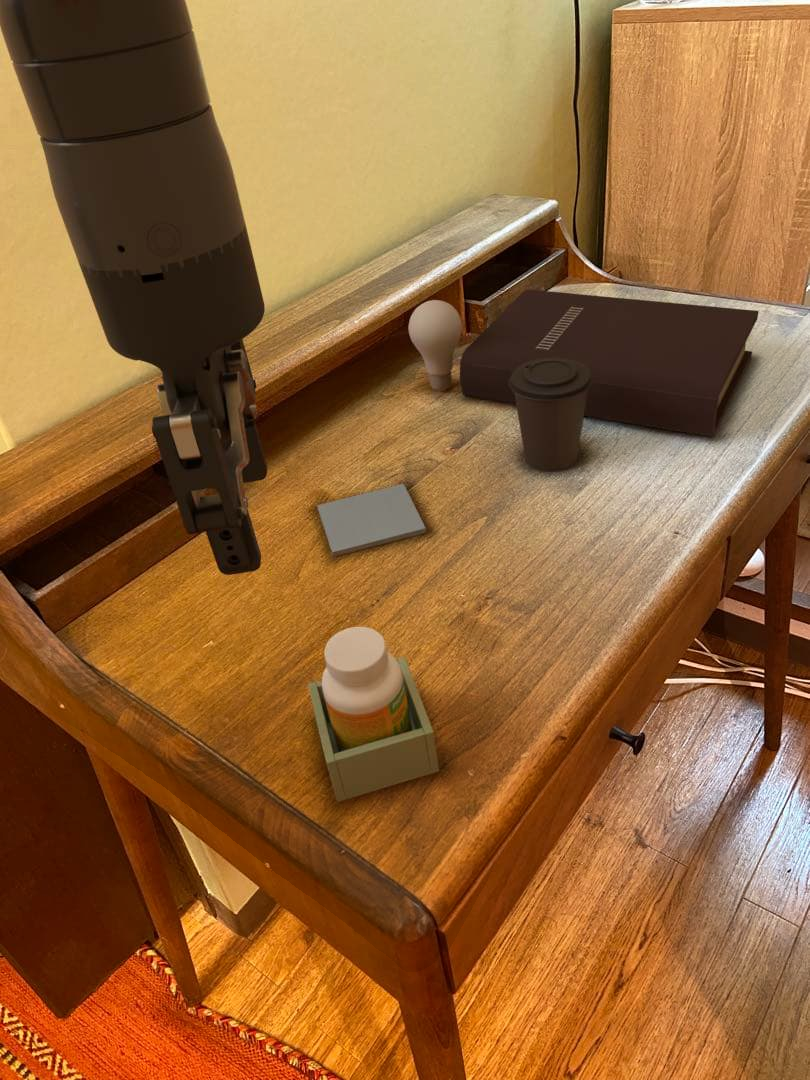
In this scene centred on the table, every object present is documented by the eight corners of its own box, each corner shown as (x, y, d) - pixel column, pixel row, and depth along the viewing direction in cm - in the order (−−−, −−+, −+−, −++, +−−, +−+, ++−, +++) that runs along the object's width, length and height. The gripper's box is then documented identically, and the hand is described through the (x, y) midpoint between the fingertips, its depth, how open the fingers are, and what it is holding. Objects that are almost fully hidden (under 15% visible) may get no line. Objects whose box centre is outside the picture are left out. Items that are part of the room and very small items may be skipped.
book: (461, 403, 95) (457, 356, 92) (526, 332, 108) (525, 289, 104) (710, 444, 83) (717, 392, 79) (751, 359, 96) (758, 310, 92)
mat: (333, 557, 76) (332, 552, 76) (318, 509, 82) (317, 505, 82) (426, 532, 77) (425, 527, 77) (404, 488, 83) (403, 483, 83)
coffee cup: (504, 442, 88) (500, 356, 82) (579, 431, 88) (581, 344, 82) (520, 484, 81) (516, 395, 75) (601, 472, 81) (604, 381, 75)
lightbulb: (440, 373, 102) (432, 287, 95) (477, 386, 98) (471, 298, 91) (405, 393, 99) (394, 306, 92) (442, 407, 95) (433, 318, 88)
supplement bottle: (413, 773, 56) (395, 676, 50) (335, 777, 56) (308, 682, 50) (414, 710, 60) (397, 615, 54) (341, 715, 61) (317, 621, 55)
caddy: (337, 802, 55) (326, 763, 53) (318, 722, 61) (307, 683, 58) (439, 771, 56) (433, 731, 54) (411, 695, 62) (404, 655, 59)
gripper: (107, 198, 42) (194, 463, 52) (34, 306, 31) (163, 617, 41) (252, 176, 42) (311, 445, 52) (232, 275, 31) (313, 594, 41)
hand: (246, 520), depth 46 cm, fingers open, 8 cm apart
